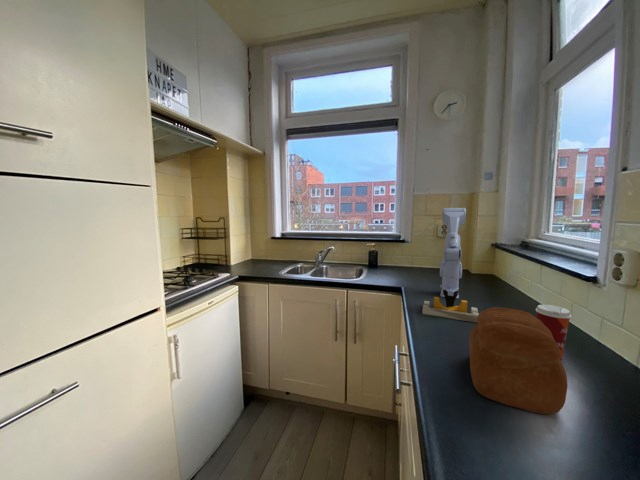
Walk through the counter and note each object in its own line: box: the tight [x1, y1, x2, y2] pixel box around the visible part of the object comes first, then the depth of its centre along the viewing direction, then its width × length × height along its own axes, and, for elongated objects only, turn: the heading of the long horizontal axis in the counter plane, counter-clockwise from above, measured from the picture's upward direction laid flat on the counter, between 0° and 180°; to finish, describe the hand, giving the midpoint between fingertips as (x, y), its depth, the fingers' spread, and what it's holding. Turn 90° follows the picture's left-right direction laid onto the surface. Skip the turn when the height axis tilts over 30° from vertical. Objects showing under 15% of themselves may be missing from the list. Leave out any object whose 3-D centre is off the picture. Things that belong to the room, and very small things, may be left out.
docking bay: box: [421, 300, 480, 324], centre depth 106 cm, size 10×20×2 cm, turn 63°
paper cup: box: [535, 304, 572, 361], centre depth 74 cm, size 8×8×14 cm
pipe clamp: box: [433, 296, 468, 313], centre depth 106 cm, size 12×4×6 cm, turn 65°
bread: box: [468, 306, 568, 415], centre depth 62 cm, size 18×22×17 cm
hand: (449, 307), depth 109 cm, fingers closed
